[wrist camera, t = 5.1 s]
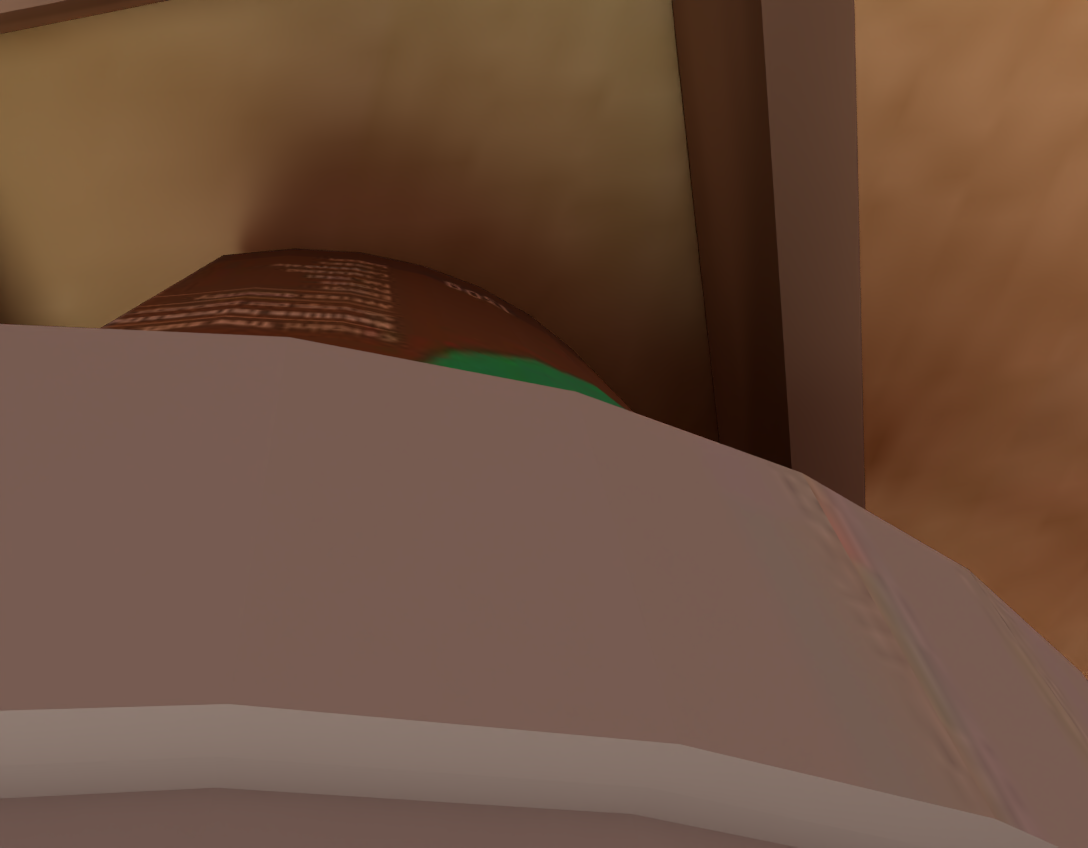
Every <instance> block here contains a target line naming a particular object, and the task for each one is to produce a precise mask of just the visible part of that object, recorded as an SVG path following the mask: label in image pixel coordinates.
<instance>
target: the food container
mask: <svg viewBox="0 0 1088 848" xmlns="http://www.w3.org/2000/svg"><path fill="white" fill-rule="evenodd" d="M0 848H1088V681H1087V679H1086V678H1085V677H1084V675H1083V674H1082V672H1080V671H1079V670H1078V669H1077V668H1076V667H1075V666H1074V665H1073V664H1072V663H1071V662H1069V661H1068V660H1067V659H1066V658H1065V657H1064V656H1063V655H1062V654H1061V653H1060V652H1058V651H1057V650H1056V649H1055V648H1054V647H1053V646H1052V645H1051V644H1050V643H1049V642H1047V641H1046V640H1045V639H1044V638H1043V637H1042V636H1041V635H1040V634H1039V633H1038V632H1036V631H1035V630H1034V629H1033V628H1032V627H1031V626H1030V625H1029V624H1028V623H1027V622H1025V621H1024V620H1023V619H1022V618H1021V617H1020V616H1019V615H1018V614H1017V613H1016V612H1014V611H1013V610H1012V609H1011V608H1010V607H1009V606H1008V605H1007V604H1006V603H1005V602H1004V601H1002V600H1001V599H1000V598H999V597H998V596H997V595H996V594H995V593H994V592H993V591H991V590H990V589H989V588H988V587H987V586H986V585H985V584H984V583H983V582H982V581H980V580H979V579H978V578H977V577H976V576H975V575H974V574H973V573H972V572H971V571H969V570H968V569H967V568H965V567H963V566H961V565H960V564H958V563H956V562H955V561H953V560H951V559H949V558H948V557H946V556H944V555H943V554H941V553H939V552H937V551H936V550H934V549H932V548H930V547H929V546H927V545H925V544H924V543H922V542H920V541H918V540H917V539H915V538H913V537H912V536H910V535H908V534H906V533H905V532H903V531H901V530H899V529H898V528H896V527H894V526H893V525H891V524H889V523H887V522H886V521H884V520H882V519H881V518H879V517H877V516H875V515H874V514H872V513H870V512H868V511H867V510H865V509H863V508H862V507H860V506H858V505H856V504H855V503H853V502H851V501H850V500H848V499H846V498H844V497H843V496H841V495H839V494H837V493H836V492H834V491H832V490H831V489H829V488H827V487H825V486H824V485H822V484H820V483H819V482H817V481H815V480H813V479H812V478H810V477H808V476H806V475H805V474H803V473H801V472H798V471H795V470H792V469H790V468H787V467H784V466H781V465H779V464H776V463H773V462H770V461H767V460H765V459H762V458H759V457H756V456H753V455H751V454H748V453H745V452H742V451H740V450H737V449H734V448H731V447H728V446H726V445H723V444H720V443H717V442H715V441H712V440H709V439H706V438H703V437H701V436H698V435H695V434H692V433H689V432H687V431H684V430H681V429H678V428H676V427H673V426H670V425H667V424H664V423H662V422H659V421H656V420H653V419H651V418H648V417H645V416H642V415H639V414H637V413H634V412H633V411H632V410H631V409H630V408H629V407H628V406H627V405H626V404H625V403H624V402H623V401H622V400H621V399H620V398H619V397H618V396H617V395H616V394H615V393H614V392H613V391H612V390H611V389H610V388H609V387H608V386H607V385H606V383H605V382H604V381H603V380H602V379H601V378H600V377H599V376H598V375H597V374H596V373H595V372H594V371H593V370H592V369H591V368H590V367H589V366H588V365H587V364H586V363H585V362H584V361H583V360H582V359H581V358H580V357H579V356H578V355H577V354H576V353H575V352H574V351H573V350H572V349H571V348H570V347H569V346H567V345H566V344H565V343H564V342H562V341H561V340H560V339H559V338H557V337H556V336H555V335H554V334H552V333H551V332H550V331H549V330H547V329H546V328H545V327H544V326H542V325H541V324H540V323H539V322H537V321H536V320H535V319H534V318H532V317H531V316H530V315H529V314H527V313H525V312H523V311H521V310H520V309H518V308H516V307H514V306H512V305H511V304H509V303H507V302H505V301H504V300H502V299H500V298H498V297H496V296H495V295H493V294H491V293H489V292H487V291H486V290H484V289H482V288H480V287H478V286H476V285H473V284H470V283H468V282H465V281H462V280H460V279H457V278H454V277H452V276H449V275H446V274H443V273H441V272H438V271H435V270H433V269H430V268H427V267H425V266H422V265H417V264H412V263H407V262H403V261H398V260H393V259H388V258H384V257H379V256H374V255H369V254H365V253H358V252H342V251H325V250H308V249H287V250H276V251H265V252H254V253H243V254H232V255H223V256H221V257H220V258H218V259H216V260H215V261H213V262H211V263H209V264H208V265H206V266H204V267H203V268H201V269H199V270H198V271H196V272H194V273H193V274H191V275H189V276H188V277H186V278H184V279H183V280H181V281H179V282H177V283H176V284H174V285H172V286H171V287H169V288H167V289H166V290H164V291H162V292H161V293H159V294H157V295H156V296H154V297H152V298H150V299H149V300H147V301H145V302H144V303H142V304H140V305H139V306H137V307H135V308H134V309H132V310H130V311H129V312H127V313H125V314H123V315H122V316H120V317H118V318H117V319H115V320H113V321H112V322H110V323H108V324H107V325H105V326H103V327H102V328H78V327H56V326H34V325H12V324H0Z"/></svg>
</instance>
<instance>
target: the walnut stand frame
mask: <svg viewBox="0 0 1088 848" xmlns="http://www.w3.org/2000/svg"><path fill="white" fill-rule="evenodd" d="M162 1H167V0H0V34H2V33H7V32H12V31H17V30H22V29H27V28H32V27H37V26H42V25H47V24H52V23H57V22H62V21H67V20H72V19H77V18H82V17H87V16H92V15H97V14H102V13H107V12H112V11H117V10H122V9H127V8H132V7H137V6H142V5H147V4H152V3H157V2H162ZM672 4H673V13H674V22H675V32H676V41H677V50H678V60H679V69H680V78H681V88H682V97H683V106H684V116H685V125H686V134H687V144H688V153H689V162H690V172H691V181H692V190H693V200H694V209H695V218H696V228H697V237H698V246H699V256H700V265H701V274H702V284H703V293H704V302H705V312H706V321H707V330H708V340H709V349H710V358H711V368H712V377H713V386H714V396H715V405H716V414H717V424H718V433H719V442H720V444H723V445H726V446H728V447H731V448H734V449H737V450H740V451H742V452H745V453H748V454H751V455H753V456H756V457H759V458H762V459H765V460H767V461H770V462H773V463H776V464H779V465H781V466H784V467H787V468H790V469H792V470H795V471H798V472H801V473H803V474H805V475H806V476H808V477H810V478H812V479H813V480H815V481H817V482H819V483H820V484H822V485H824V486H825V487H827V488H829V489H831V490H832V491H834V492H836V493H837V494H839V495H841V496H843V497H844V498H846V499H848V500H850V501H851V502H853V503H855V504H856V505H858V506H860V507H862V508H863V509H865V472H864V426H863V380H862V334H861V288H860V242H859V196H858V150H857V104H856V58H855V11H854V0H672Z"/></svg>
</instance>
